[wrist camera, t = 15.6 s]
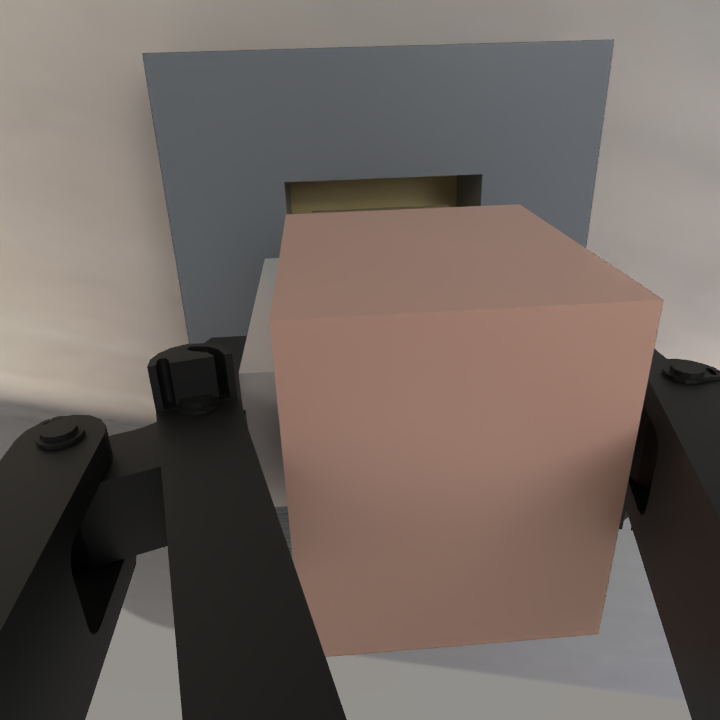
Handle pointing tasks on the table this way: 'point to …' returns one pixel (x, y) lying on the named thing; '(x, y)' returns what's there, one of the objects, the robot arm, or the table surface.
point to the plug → (454, 422)
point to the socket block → (362, 146)
